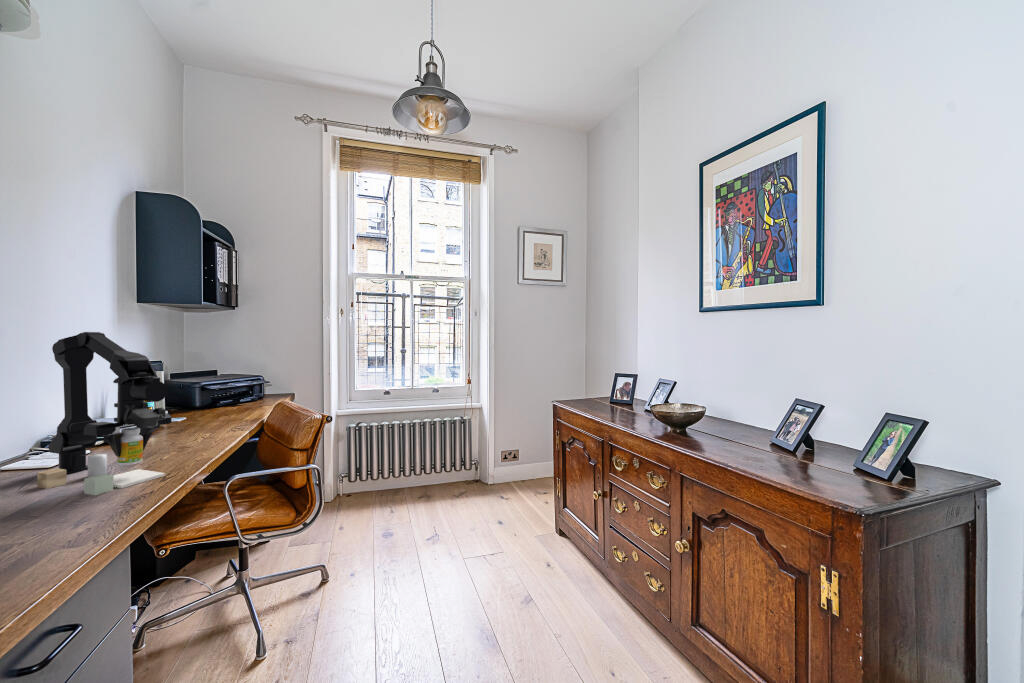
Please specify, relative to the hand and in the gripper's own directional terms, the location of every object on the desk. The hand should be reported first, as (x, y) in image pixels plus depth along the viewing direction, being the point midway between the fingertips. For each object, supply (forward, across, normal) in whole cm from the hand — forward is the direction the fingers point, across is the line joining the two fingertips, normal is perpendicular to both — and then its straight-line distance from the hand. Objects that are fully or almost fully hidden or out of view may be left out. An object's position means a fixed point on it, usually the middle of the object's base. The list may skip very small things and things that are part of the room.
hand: (130, 453), depth 121 cm
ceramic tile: (+7, 0, 0) cm, 7 cm away
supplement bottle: (+3, 0, 0) cm, 3 cm away
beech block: (+8, -10, +14) cm, 19 cm away
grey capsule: (+8, -1, +12) cm, 14 cm away
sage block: (+8, -9, -3) cm, 12 cm away
